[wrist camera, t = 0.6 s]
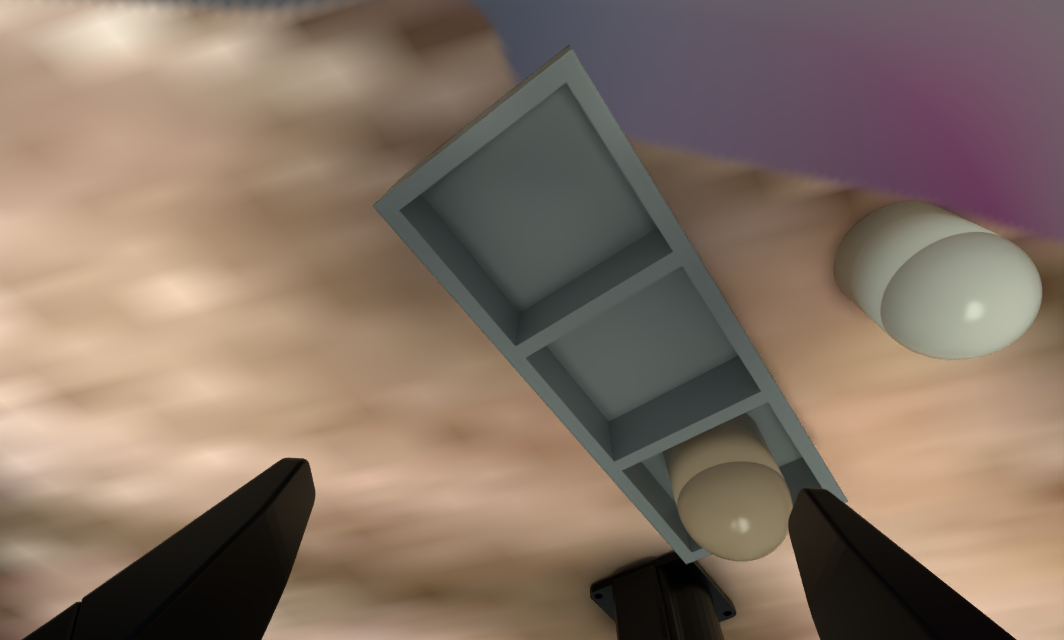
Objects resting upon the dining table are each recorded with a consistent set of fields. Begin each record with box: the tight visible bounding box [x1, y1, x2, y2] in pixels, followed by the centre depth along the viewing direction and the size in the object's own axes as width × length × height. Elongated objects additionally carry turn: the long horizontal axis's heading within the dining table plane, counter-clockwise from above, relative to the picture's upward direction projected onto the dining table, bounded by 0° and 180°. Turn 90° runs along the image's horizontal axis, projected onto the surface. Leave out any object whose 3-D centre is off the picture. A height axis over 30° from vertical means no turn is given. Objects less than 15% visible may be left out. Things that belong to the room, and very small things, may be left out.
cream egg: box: [834, 200, 1042, 360], centre depth 18 cm, size 4×4×6 cm
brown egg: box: [663, 413, 793, 561], centre depth 22 cm, size 4×4×6 cm
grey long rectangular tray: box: [373, 45, 848, 564], centre depth 21 cm, size 21×8×4 cm, turn 36°
